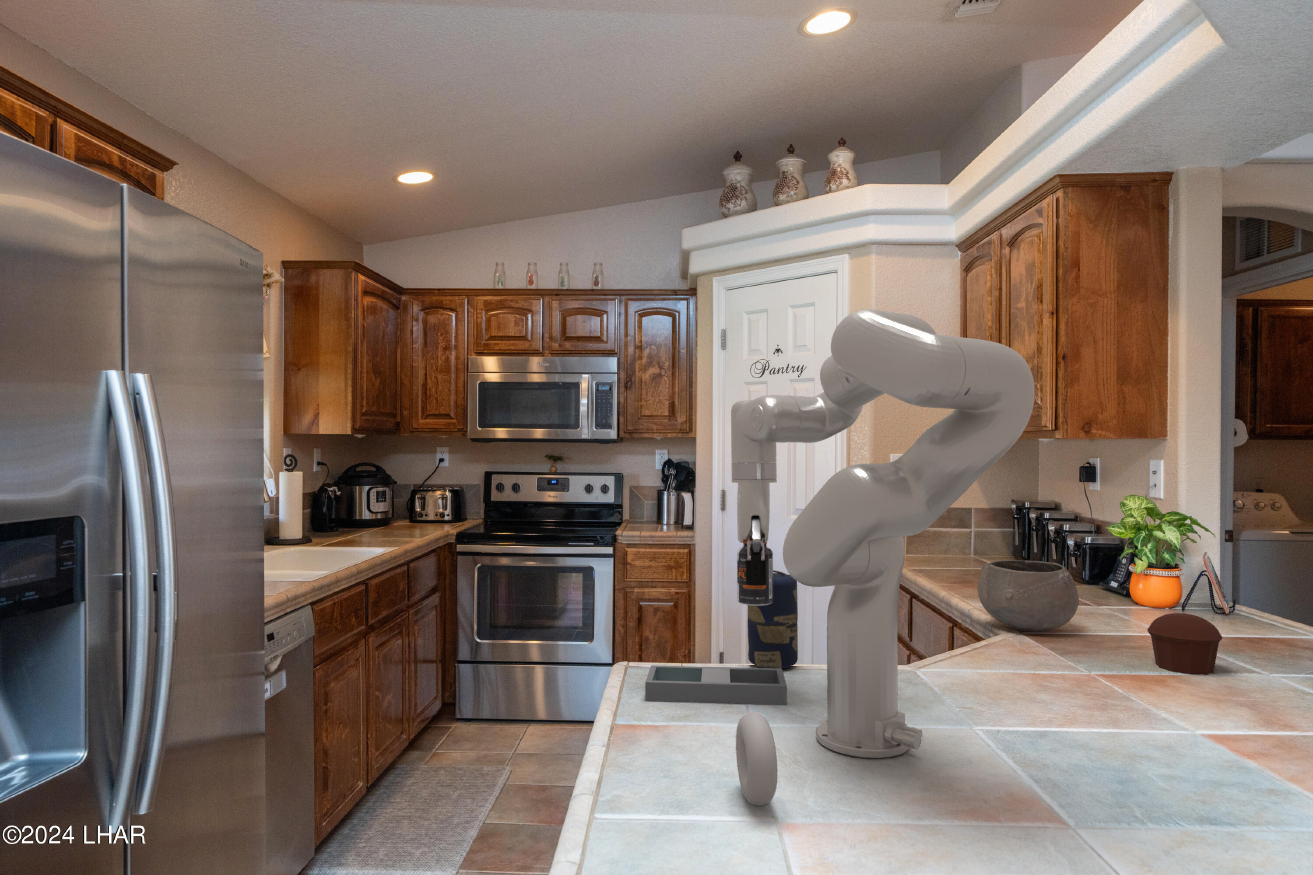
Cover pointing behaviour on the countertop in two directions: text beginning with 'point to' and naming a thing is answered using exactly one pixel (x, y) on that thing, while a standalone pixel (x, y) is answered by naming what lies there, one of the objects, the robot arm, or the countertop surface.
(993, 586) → the clay pot
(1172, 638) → the muffin
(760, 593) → the pill bottle
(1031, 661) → the countertop surface
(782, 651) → the canister
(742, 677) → the frame
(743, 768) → the donut
